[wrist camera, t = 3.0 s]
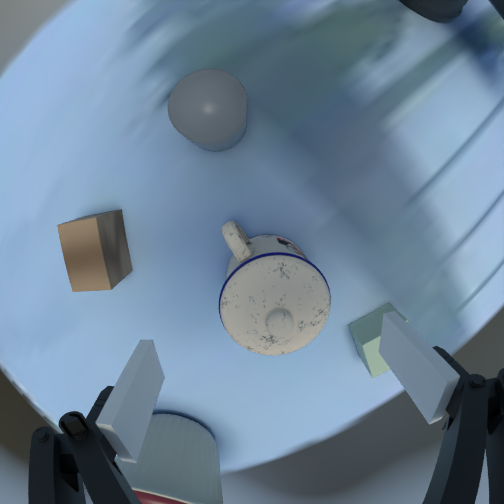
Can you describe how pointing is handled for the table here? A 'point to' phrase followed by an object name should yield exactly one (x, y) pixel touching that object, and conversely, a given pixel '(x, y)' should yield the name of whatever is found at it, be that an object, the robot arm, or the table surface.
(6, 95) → the table surface
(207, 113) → the grey rounded piece
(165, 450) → the canister
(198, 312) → the table surface
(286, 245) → the teacup with lid
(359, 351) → the sage green block
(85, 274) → the walnut block
